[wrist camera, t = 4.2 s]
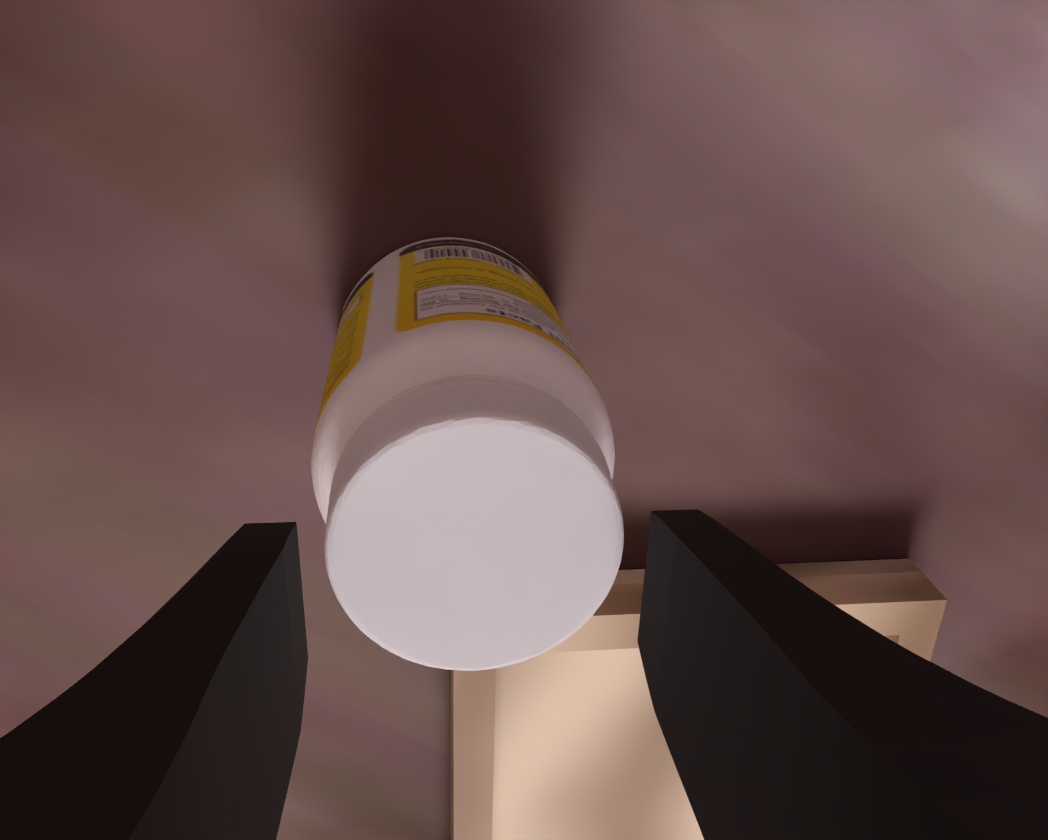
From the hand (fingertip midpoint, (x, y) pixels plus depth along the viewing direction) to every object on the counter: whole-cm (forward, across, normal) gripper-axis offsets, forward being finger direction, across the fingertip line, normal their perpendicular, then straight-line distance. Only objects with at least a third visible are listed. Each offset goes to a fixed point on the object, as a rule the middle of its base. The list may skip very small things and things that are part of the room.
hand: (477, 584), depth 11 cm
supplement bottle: (+9, 0, 0) cm, 9 cm away
